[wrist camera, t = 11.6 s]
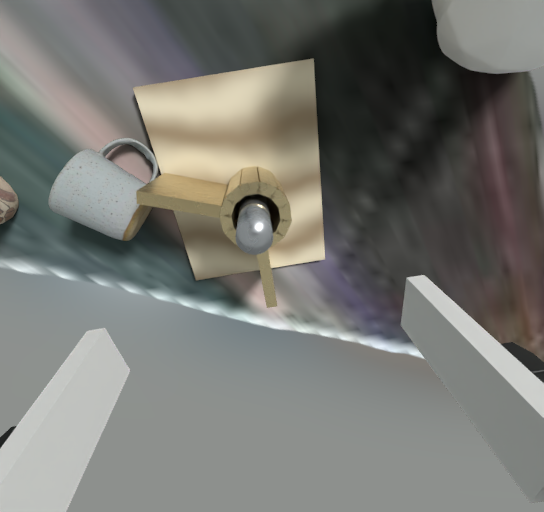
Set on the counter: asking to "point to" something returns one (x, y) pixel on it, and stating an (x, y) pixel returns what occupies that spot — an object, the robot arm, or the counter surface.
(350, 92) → the counter surface
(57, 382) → the robot arm
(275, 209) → the brass hinge
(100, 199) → the ceramic mug
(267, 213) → the hinge pin
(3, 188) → the figurine
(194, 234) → the birch board
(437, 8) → the decorative rooster
